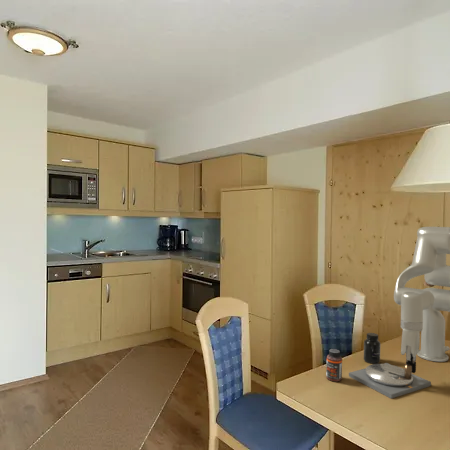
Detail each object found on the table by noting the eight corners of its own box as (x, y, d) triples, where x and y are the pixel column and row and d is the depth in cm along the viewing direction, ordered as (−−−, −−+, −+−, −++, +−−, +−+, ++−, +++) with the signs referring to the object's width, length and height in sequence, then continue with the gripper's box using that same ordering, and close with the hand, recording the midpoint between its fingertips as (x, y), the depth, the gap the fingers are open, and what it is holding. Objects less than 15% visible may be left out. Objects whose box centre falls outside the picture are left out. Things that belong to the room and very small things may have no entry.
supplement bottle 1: (324, 380, 145) (325, 351, 144) (327, 374, 150) (328, 346, 149) (340, 383, 142) (340, 354, 141) (343, 377, 147) (343, 349, 147)
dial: (358, 376, 144) (358, 360, 144) (375, 363, 156) (375, 348, 156) (404, 391, 132) (404, 373, 132) (419, 376, 144) (419, 359, 144)
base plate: (386, 366, 158) (386, 362, 158) (430, 385, 140) (430, 381, 140) (348, 376, 148) (348, 372, 148) (391, 398, 130) (391, 394, 130)
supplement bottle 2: (377, 365, 159) (378, 337, 159) (361, 361, 163) (362, 334, 163) (381, 360, 164) (382, 333, 164) (366, 356, 169) (366, 330, 168)
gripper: (405, 318, 149) (404, 362, 150) (396, 328, 137) (395, 376, 138) (425, 321, 145) (425, 367, 146) (418, 332, 133) (418, 381, 134)
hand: (410, 371), depth 142 cm, fingers closed
